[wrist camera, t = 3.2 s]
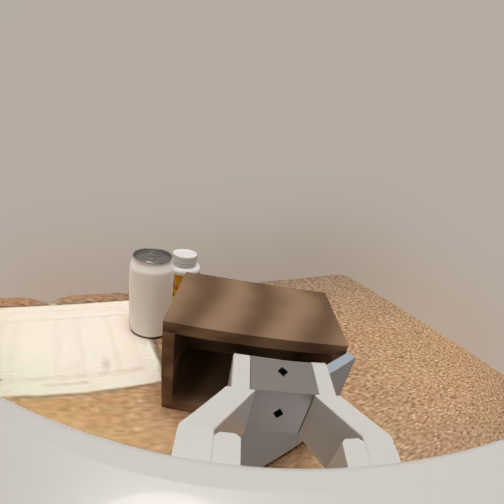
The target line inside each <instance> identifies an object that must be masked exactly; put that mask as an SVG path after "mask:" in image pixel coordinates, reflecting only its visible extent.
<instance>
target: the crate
mask: <svg viewBox="0 0 504 504" xmlns="http://www.w3.org/2000/svg"><path fill="white" fill-rule="evenodd" d="M347 348H348V344H347V342H346V339H345V337H344V335H343V333H342V330H341V328H340V326H339V323H338V321H337V319H336V317H335V314H334V312H333V310H332V308H331V305H330V303H329V301H328V299H327V296H326V294H325V293H322V292H315V291H307V290H300V289H294V288H287V287H280V286H273V285H266V284H260V283H253V282H247V281H240V280H233V279H228V278H221V277H215V276H209V275H203V274H197V273H191V272H186V273H185V275H184V277H183V279H182V281H181V283H180V286H179V288H178V290H177V292H176V294H175V296H174V298H173V300H172V302H171V304H170V307H169V309H168V311H167V313H166V315H165V317H164V319H163V330H162V406H163V407H168V408H173V409H178V410H183V411H189V412H194V411H196V410H197V409H198V408H199V407H201V406H202V405H203V404H205V403H206V402H207V401H208V400H210V399H211V398H212V397H213V396H215V395H216V394H217V393H218V392H220V391H221V390H222V389H223V388H225V387H226V386H228V381H229V375H230V370H231V364H232V359H233V355H234V353H237V354H244V355H249V356H250V355H251V356H258V357H265V358H272V359H279V360H286V361H296V362H308V363H310V362H316V363H325V364H326V365H327V364H329V363H331V362H332V361H334V360H336V359H338V358H339V357H341V356H343V355H344V354H346V351H347Z"/></svg>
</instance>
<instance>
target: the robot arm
mask: <svg viewBox="0 0 504 504" xmlns="http://www.w3.org/2000/svg"><path fill="white" fill-rule="evenodd" d="M245 430H253V431H269V432H281V433H293V434H298V436H299V437H300V438H301V439H302V441H303V442H304V443H305V444H306V446H307V447H308V448H309V449H310V451H311V452H312V453H313V454H314V455H315V457H316V458H317V459H318V460H319V462H320V463H321V464H322V465H323V466H324V467H325V468H319V469H298V468H270V467H255V466H243V465H240V459H241V435H242V434H243V433H244V432H245ZM0 504H504V439H502V440H499V441H496V442H492V443H489V444H486V445H482V446H479V447H475V448H471V449H467V450H463V451H459V452H455V453H450V454H446V455H441V456H436V457H431V458H425V459H420V460H413V461H407V462H401V460H400V458H399V455H398V453H397V450H396V447H395V445H394V442H393V440H392V437H391V435H389V434H388V433H387V432H385V431H384V430H383V429H381V428H380V427H379V426H378V425H376V424H375V423H374V422H372V421H371V420H370V419H369V418H367V417H366V416H365V415H364V414H362V413H361V412H360V411H359V410H357V409H356V408H355V407H354V406H352V405H351V404H350V403H349V402H347V401H346V400H345V399H344V398H342V397H341V396H336V393H335V390H334V387H333V383H332V380H331V377H330V374H329V371H328V367H327V365H326V364H325V363H316V362H310V363H308V362H296V361H286V360H279V359H272V358H265V357H258V356H251V355H250V356H249V355H244V354H237V353H234V355H233V359H232V364H231V370H230V375H229V381H228V386H226V387H225V388H223V389H222V390H221V391H220V392H218V393H217V394H216V395H215V396H213V397H212V398H211V399H210V400H208V401H207V402H206V403H205V404H203V405H202V406H201V407H199V408H198V409H197V410H196V411H194V412H193V413H192V414H190V415H189V416H188V417H187V418H185V419H184V420H183V421H181V422H180V423H179V424H178V428H177V432H176V437H175V441H174V445H173V449H172V454H171V455H168V454H164V453H159V452H154V451H150V450H146V449H142V448H137V447H134V446H130V445H126V444H122V443H119V442H115V441H112V440H108V439H105V438H102V437H98V436H95V435H92V434H89V433H86V432H83V431H80V430H77V429H75V428H72V427H69V426H66V425H64V424H61V423H58V422H56V421H53V420H51V419H48V418H46V417H43V416H41V415H39V414H36V413H34V412H32V411H30V410H27V409H25V408H23V407H21V406H19V405H16V404H14V403H12V402H10V401H8V400H6V399H4V398H2V397H0Z"/></svg>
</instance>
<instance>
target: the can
mask: <svg viewBox="0 0 504 504" xmlns="http://www.w3.org/2000/svg"><path fill="white" fill-rule="evenodd" d="M129 273H130V274H129V320H130V328H131V329H132V330H133V331H134V332H135V333H136V334H137V335H139V336H142V337H146V338H157V337H161V336H162V330H163V319H164V317H165V315H166V313H167V311H168V309H169V307H170V304H171V302H172V295H173V281H174V264H173V262H172V255H171V254H170V253H169V252H167V251H165V250H161V249H156V248H144V249H139V250H136V251H135V252H134V253H133V259H132V261H131V263H130V271H129Z"/></svg>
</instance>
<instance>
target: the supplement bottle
mask: <svg viewBox="0 0 504 504" xmlns="http://www.w3.org/2000/svg"><path fill="white" fill-rule="evenodd" d="M172 262H173V264H174V281H173V295H172V300H173V298H174V296H175V294H176V292H177V290H178V288H179V286H180V283H181V281H182V279H183V277H184V275H185V273H186V272H191V273H197V274H200V266H199V264H197V263H196V262H197V253H196V252H194V251H192V250H188V249H177V250H175V251H174V252H173V257H172Z"/></svg>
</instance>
